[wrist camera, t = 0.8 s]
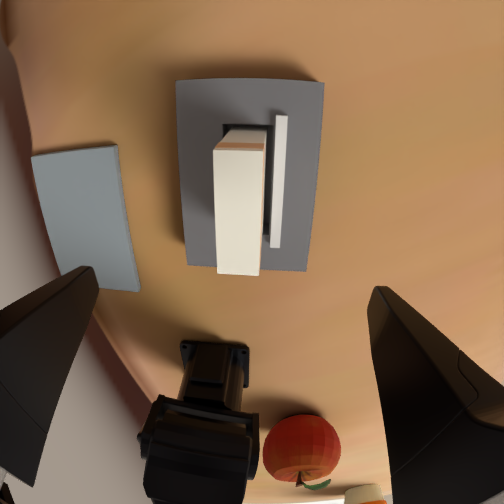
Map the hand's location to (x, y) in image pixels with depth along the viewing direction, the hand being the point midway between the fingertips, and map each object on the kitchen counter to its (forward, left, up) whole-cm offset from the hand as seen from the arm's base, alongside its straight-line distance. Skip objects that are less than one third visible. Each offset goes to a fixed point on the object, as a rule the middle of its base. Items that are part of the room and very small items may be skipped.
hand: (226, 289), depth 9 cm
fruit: (-31, -7, -12) cm, 34 cm away
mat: (-4, +13, -12) cm, 18 cm away
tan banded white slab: (0, 0, -12) cm, 12 cm away
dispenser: (0, 0, -12) cm, 12 cm away
